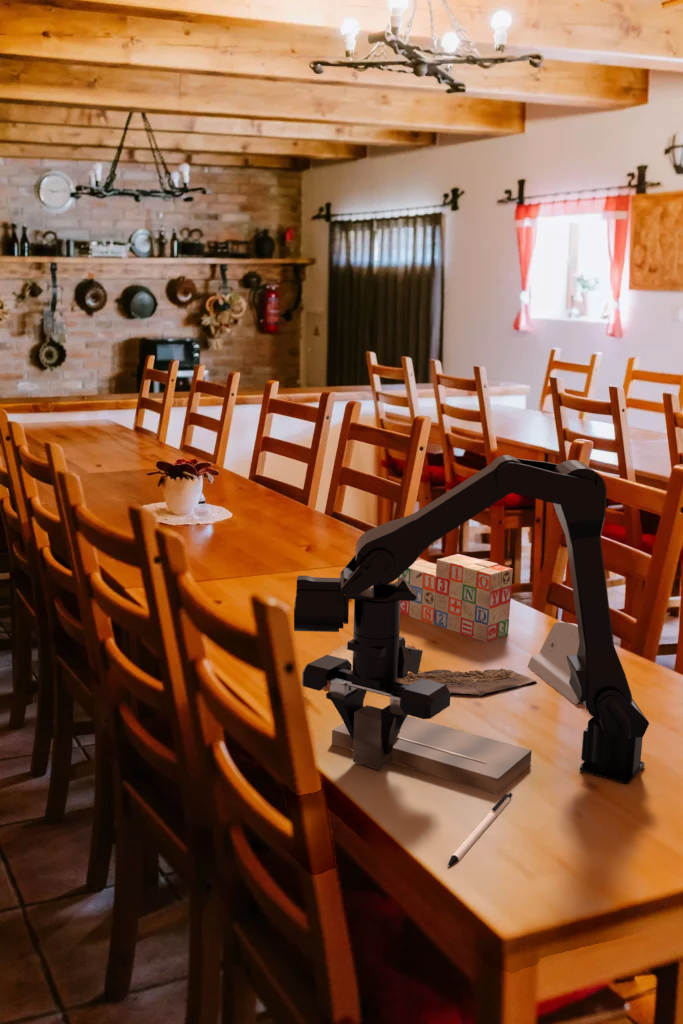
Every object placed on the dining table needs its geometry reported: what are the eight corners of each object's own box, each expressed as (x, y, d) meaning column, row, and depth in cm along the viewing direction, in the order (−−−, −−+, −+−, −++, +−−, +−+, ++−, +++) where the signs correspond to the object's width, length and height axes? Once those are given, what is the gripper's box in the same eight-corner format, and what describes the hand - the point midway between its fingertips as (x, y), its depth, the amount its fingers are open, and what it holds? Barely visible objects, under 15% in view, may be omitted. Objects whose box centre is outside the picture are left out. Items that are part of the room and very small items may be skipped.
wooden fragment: (525, 671, 173) (525, 664, 172) (546, 697, 162) (547, 690, 162) (365, 675, 169) (365, 669, 169) (377, 702, 159) (377, 696, 158)
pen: (514, 798, 130) (514, 790, 130) (451, 871, 114) (452, 861, 114) (507, 796, 131) (507, 788, 130) (444, 869, 114) (444, 859, 114)
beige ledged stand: (526, 665, 174) (549, 608, 173) (550, 673, 176) (573, 616, 175) (575, 705, 159) (601, 642, 157) (601, 712, 160) (627, 650, 159)
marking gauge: (407, 750, 141) (409, 702, 140) (379, 769, 135) (381, 719, 134) (380, 743, 143) (382, 695, 142) (352, 761, 138) (354, 712, 136)
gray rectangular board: (530, 764, 139) (531, 749, 138) (496, 794, 131) (497, 777, 130) (371, 719, 152) (372, 705, 151) (331, 743, 143) (332, 728, 143)
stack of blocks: (395, 613, 200) (398, 548, 197) (418, 606, 204) (420, 543, 202) (487, 642, 185) (491, 573, 183) (509, 635, 190) (513, 567, 187)
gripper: (473, 629, 136) (467, 745, 139) (348, 602, 146) (345, 711, 149) (430, 654, 127) (425, 777, 130) (300, 623, 136) (298, 738, 140)
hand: (372, 748), depth 137 cm, fingers closed on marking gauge, 4 cm apart
